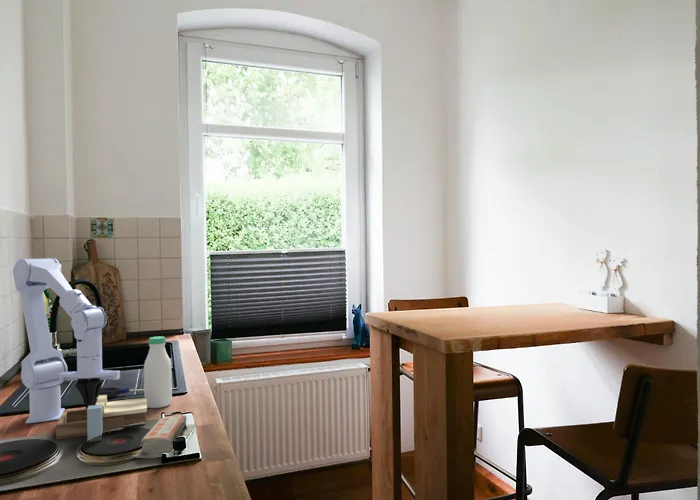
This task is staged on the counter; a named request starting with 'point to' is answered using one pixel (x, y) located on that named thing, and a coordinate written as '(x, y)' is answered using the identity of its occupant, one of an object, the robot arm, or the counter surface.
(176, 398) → the counter surface
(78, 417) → the wooden compartment box
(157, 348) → the milk bottle
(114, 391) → the screwdriver
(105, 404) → the lid
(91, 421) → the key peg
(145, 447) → the packaged product
